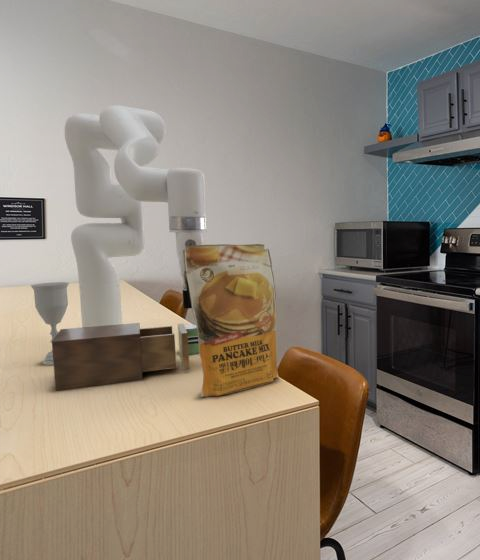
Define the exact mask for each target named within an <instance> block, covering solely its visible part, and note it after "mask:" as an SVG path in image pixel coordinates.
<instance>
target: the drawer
mask: <svg viewBox="0 0 480 560" xmlns="http://www.w3.org/2000/svg"><path fill="white" fill-rule="evenodd" d="M185 326H186V325H185V324H184V323H177V334H178V352H179V360H180V363H181V367H182V369H183V370H188V369H190V354H189V350H188V344H197V343H199V342H198V340H196V341H188V340H194V339H198V336H194V337H188V333H187V331H186V328H185ZM140 347H141V363H142V373H146V372H154V371H162V370H170V369H171V370H172V369H176V368H177V356H176V337H175V333H173V326H172V325H165V326H153V327H144V328H143V327H142V328H140Z"/></svg>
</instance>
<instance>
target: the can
mask: <svg viewBox="0 0 480 560" xmlns="http://www.w3.org/2000/svg"><path fill="white" fill-rule="evenodd" d="M184 326H185V328H186V331H187V333H188V337H194V336H198V330H197V326H196V324H187V325H184ZM196 340H198V339H194V340H188V341H196ZM188 350H189V355H195V354H199V343H197V344H188Z"/></svg>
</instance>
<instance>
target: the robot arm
mask: <svg viewBox="0 0 480 560" xmlns="http://www.w3.org/2000/svg"><path fill="white" fill-rule="evenodd" d="M166 134H167V126H166V123H165V121H164V119H163V117H161V115H160V114H159V113H157V112H155V111H153V110H149V109H143V108H137V107H132V106H126V105H118V104H115V105H109V106H107V107H105V108H104V109H102V111H101V112H100V114H95V113H84V112H83V113H81V112H80V113H74V114H72V115H70V116H68V117H67V119H66V121H65V125H64V140H65V144H66V148H67V151H68V152H69V155H70V158H71V161H72V165H73V178H74V193H75V194H74V195H75V204H76V209H77V212H78V213H79V214H80V215H81V216H83V217H86V218H91V219H119V220H120V222H87V223H82V224H79V225H76V227H75V228H73V230H72V232H71V235H70V242H71V247H72V249H73V253H74V255H75V256H74V257H75V262H76V269H77V278H78V286H79V287H78V289H79V301H80V313H81V315H80V317H81V326H82V327H94V326H106V325H119V324H123V316H122V315H123V312H122V296H121V283H120V274H119V273H120V272H119V270H118V269H117V268H116V266H115V265H114V264H113V263H112V261H110V259H112V258H122V257H123V258H124V257H134V256H138V255H140V254H142V252H143V250H144V247H145V220H144V218H145V217H144V203H145V202H147V203H148V202H149V203H167V209H168V210H167V213H168V214H167V215H168V229H169V230H168V233H175V234H174V235H175V248H176V249H175V250H176V263H177V268H178V269H177V270H178V274H179V276H180V277H181V278H182V288H183V289H182V307H183V308H184V309H186V310H187V309H192V306H191V300H190V293H189V286H188V281H187V278H186V273H185V265H184V255H183V250H184V249H186V248H187V247H189V246H196V245H204V238H203V233H207V232H208V231H207V208H206V207H207V206H206V205H207V204H206V182H205V174H204V172H203V171H202V170H200V169H198V168H192V167H172V168H163V167H153V166H146V165H148V164H151V163H152V162H153V161H154V160H155V159H157V158H158V155H159V152H160V144H162V143H163V142H164V140H165V139H166ZM101 150H110V151H117V152H116V154H115V157H114V162H113V168H114V169H113V170H114V173H115V174H114V175H115V178H116V180H117V182H118V183H114V182H113V177H112V166H111V164H110V162H109V161H108V159H107V157H106V156H105V155H104V153H102V152H101ZM143 202H144V203H143ZM82 327H81V328H82Z"/></svg>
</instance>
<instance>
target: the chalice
mask: <svg viewBox="0 0 480 560" xmlns="http://www.w3.org/2000/svg"><path fill="white" fill-rule="evenodd" d="M69 283H70V282H66V281H65V282H63V281H62V282H61V281H59V282H43V283H42V282H41V283H34V284H31V285H30V287H31V289H32V290H33V293H34V295H33V297H34V308H35V309H36V312H37V313H38V315H39V317H40V318H41V320H43V322H44V323H45V324H46V325H50V328H51V329H50V333H49V335H50V336H51V340H50V343H51V344H52V341H53V340H54V338H55V337H56V335H57V334H58V332H59V331H58V329H57V326H58V324H60V323H61V322H62V320H63V319H64V316H65V315H66V312H67V308H68V305H69V300H68V286H69ZM42 365H48V366H54V362H53V350H52V349H51V350H50V351H49V352H47V353H46V355H45V357H44V361H43V362H42Z"/></svg>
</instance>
